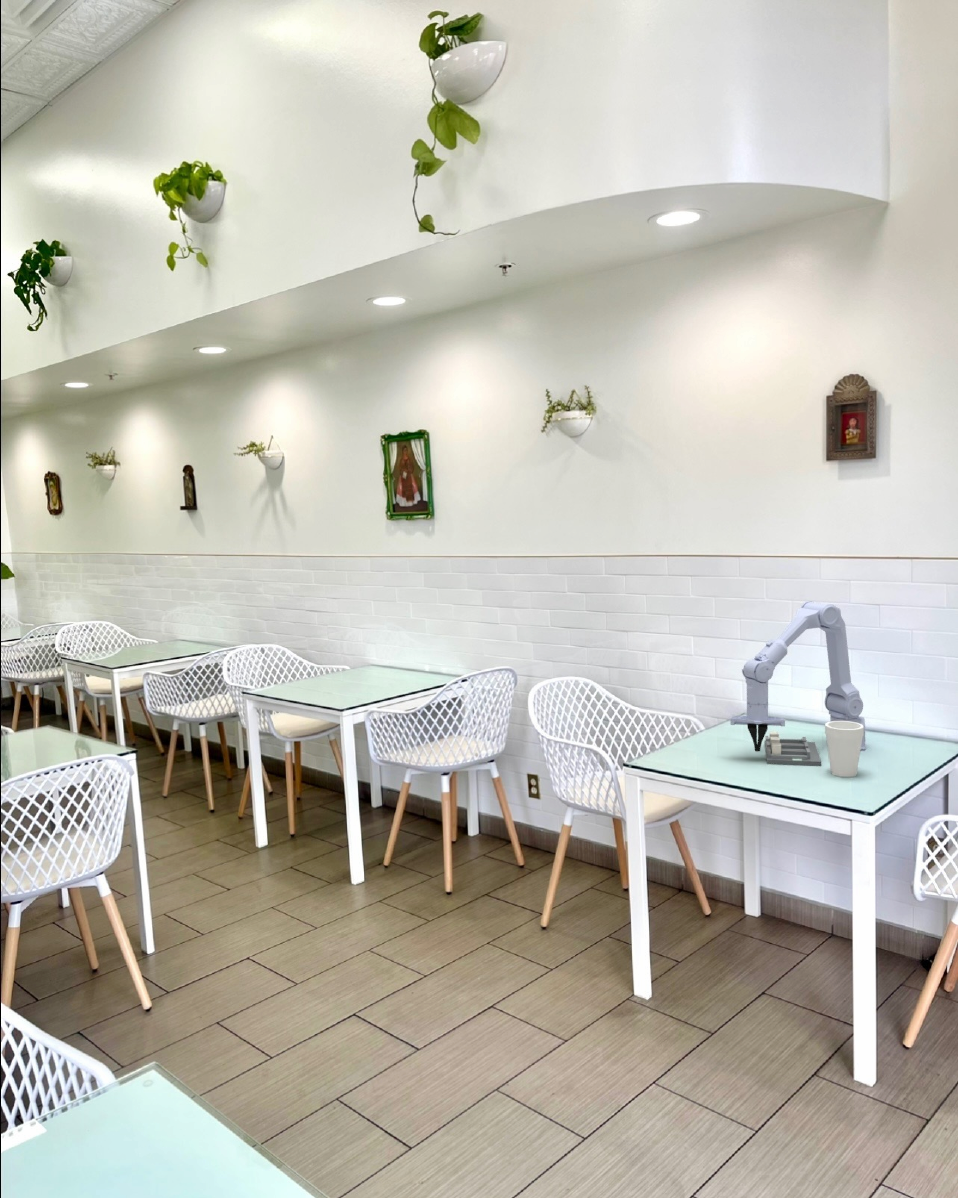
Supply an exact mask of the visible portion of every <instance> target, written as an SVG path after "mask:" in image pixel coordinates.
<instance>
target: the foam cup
mask: <svg viewBox="0 0 958 1198" xmlns="http://www.w3.org/2000/svg"><path fill="white" fill-rule="evenodd" d="M824 733H825V739H826V745H827V753H828V761H829V762H828V763H829V769H830V773H831V774H832V775H833V776H835V777H839V778H841V777H842V778H852V777H853V778H854V777H856V776H857V774H858V769H859V762H860V757H861V751H862V750H861V744H862V737H863V736H864V727H863V725H862V724H859V723H856V722H850V721H832V722H830V721H828V722H825V723H824Z"/></svg>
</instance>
